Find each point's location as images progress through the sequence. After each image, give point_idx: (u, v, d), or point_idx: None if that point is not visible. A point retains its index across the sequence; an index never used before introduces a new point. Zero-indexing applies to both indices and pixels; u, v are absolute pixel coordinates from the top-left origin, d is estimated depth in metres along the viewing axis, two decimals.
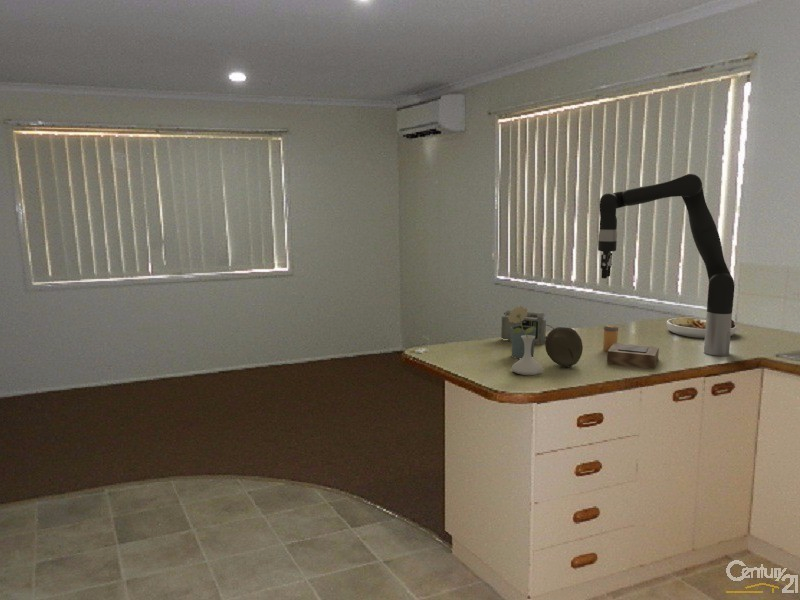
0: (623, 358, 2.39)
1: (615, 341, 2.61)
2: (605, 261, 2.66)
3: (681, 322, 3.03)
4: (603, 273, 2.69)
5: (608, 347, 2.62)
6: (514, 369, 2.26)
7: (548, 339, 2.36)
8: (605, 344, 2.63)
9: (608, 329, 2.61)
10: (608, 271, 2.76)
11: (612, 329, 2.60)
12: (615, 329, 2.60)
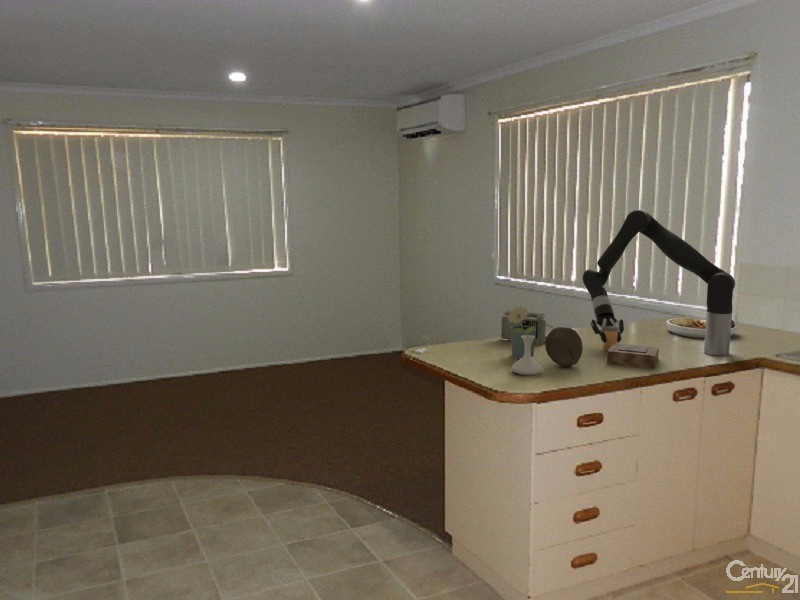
0: (623, 358, 2.39)
1: (615, 341, 2.61)
2: (593, 326, 2.65)
3: (681, 322, 3.03)
4: (601, 337, 2.63)
5: (608, 347, 2.62)
6: (514, 369, 2.26)
7: (548, 339, 2.36)
8: (605, 344, 2.63)
9: (608, 329, 2.61)
10: None
11: (612, 329, 2.60)
12: (615, 329, 2.60)
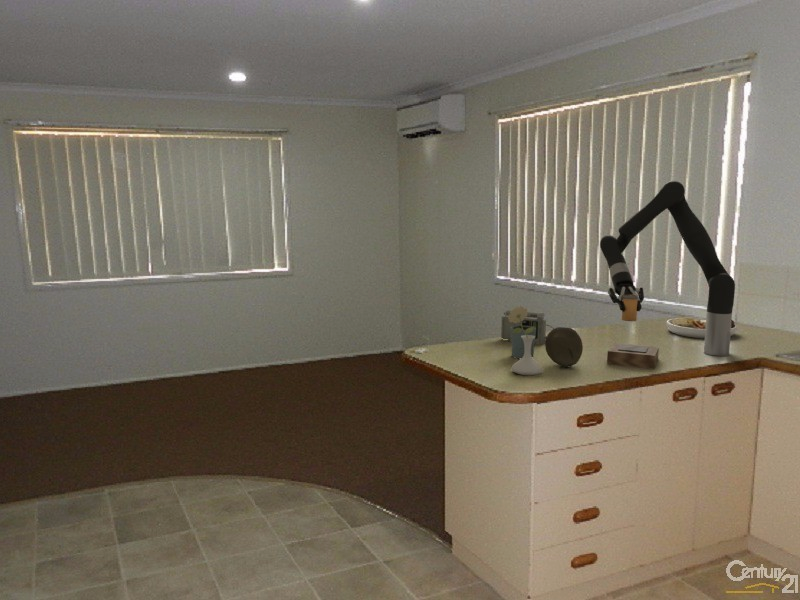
0: (623, 358, 2.39)
1: (635, 310, 2.45)
2: (611, 294, 2.49)
3: (681, 322, 3.03)
4: (619, 306, 2.47)
5: (627, 316, 2.45)
6: (514, 369, 2.26)
7: (548, 339, 2.36)
8: (624, 313, 2.46)
9: (627, 297, 2.44)
10: (637, 305, 2.46)
11: (631, 297, 2.44)
12: (635, 297, 2.44)
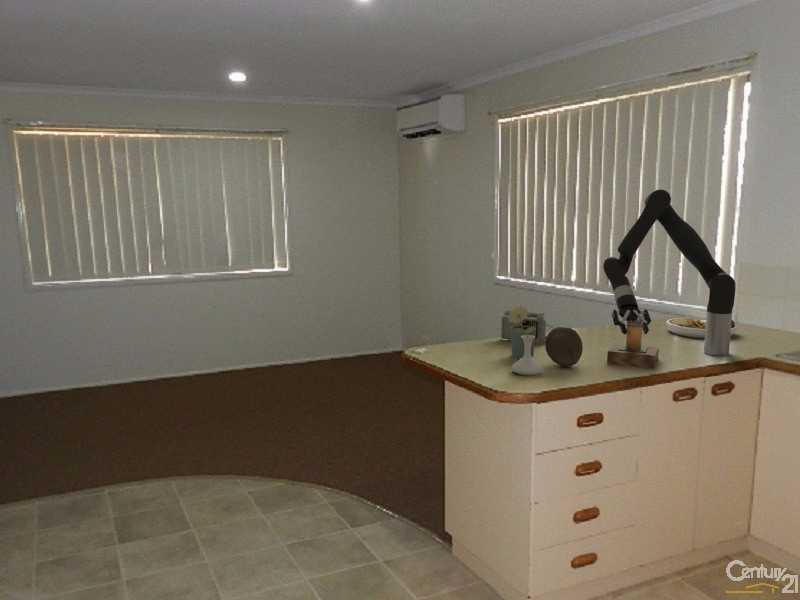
0: (623, 358, 2.39)
1: (639, 338, 2.42)
2: (614, 316, 2.46)
3: (681, 322, 3.03)
4: (621, 328, 2.43)
5: (632, 344, 2.42)
6: (514, 369, 2.26)
7: (548, 339, 2.36)
8: (628, 341, 2.43)
9: (632, 325, 2.41)
10: (644, 327, 2.43)
11: (636, 325, 2.40)
12: (639, 325, 2.41)
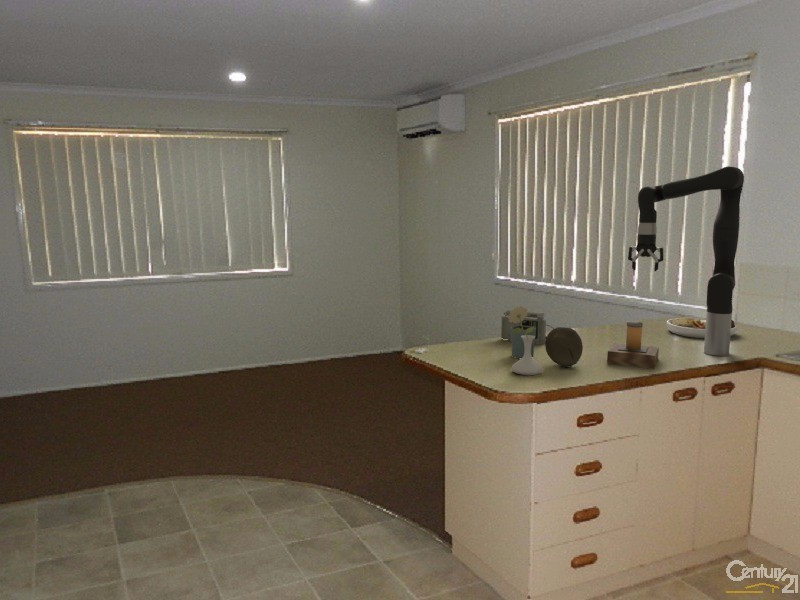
0: (623, 358, 2.39)
1: (639, 338, 2.42)
2: None
3: (681, 322, 3.03)
4: (632, 265, 2.76)
5: (632, 344, 2.42)
6: (514, 369, 2.26)
7: (548, 339, 2.36)
8: (628, 341, 2.43)
9: (632, 325, 2.41)
10: None
11: (636, 325, 2.40)
12: (639, 325, 2.41)
